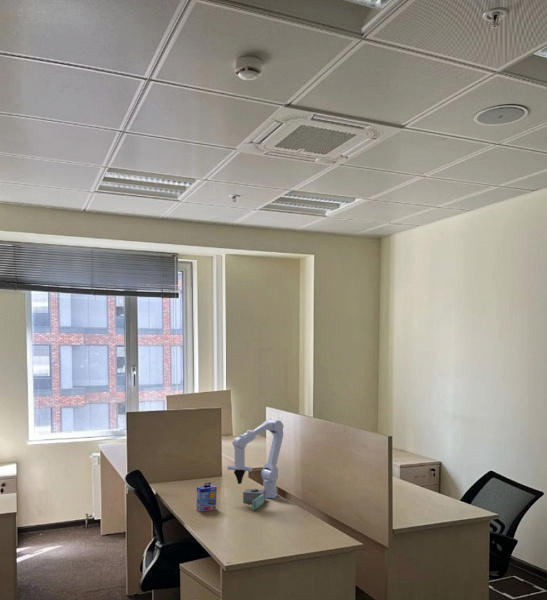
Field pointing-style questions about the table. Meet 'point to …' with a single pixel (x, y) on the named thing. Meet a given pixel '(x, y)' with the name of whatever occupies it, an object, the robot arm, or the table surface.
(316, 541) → the table surface
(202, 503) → the ink cartridge box
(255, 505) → the door
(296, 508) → the table surface
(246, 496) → the block
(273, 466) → the robot arm
